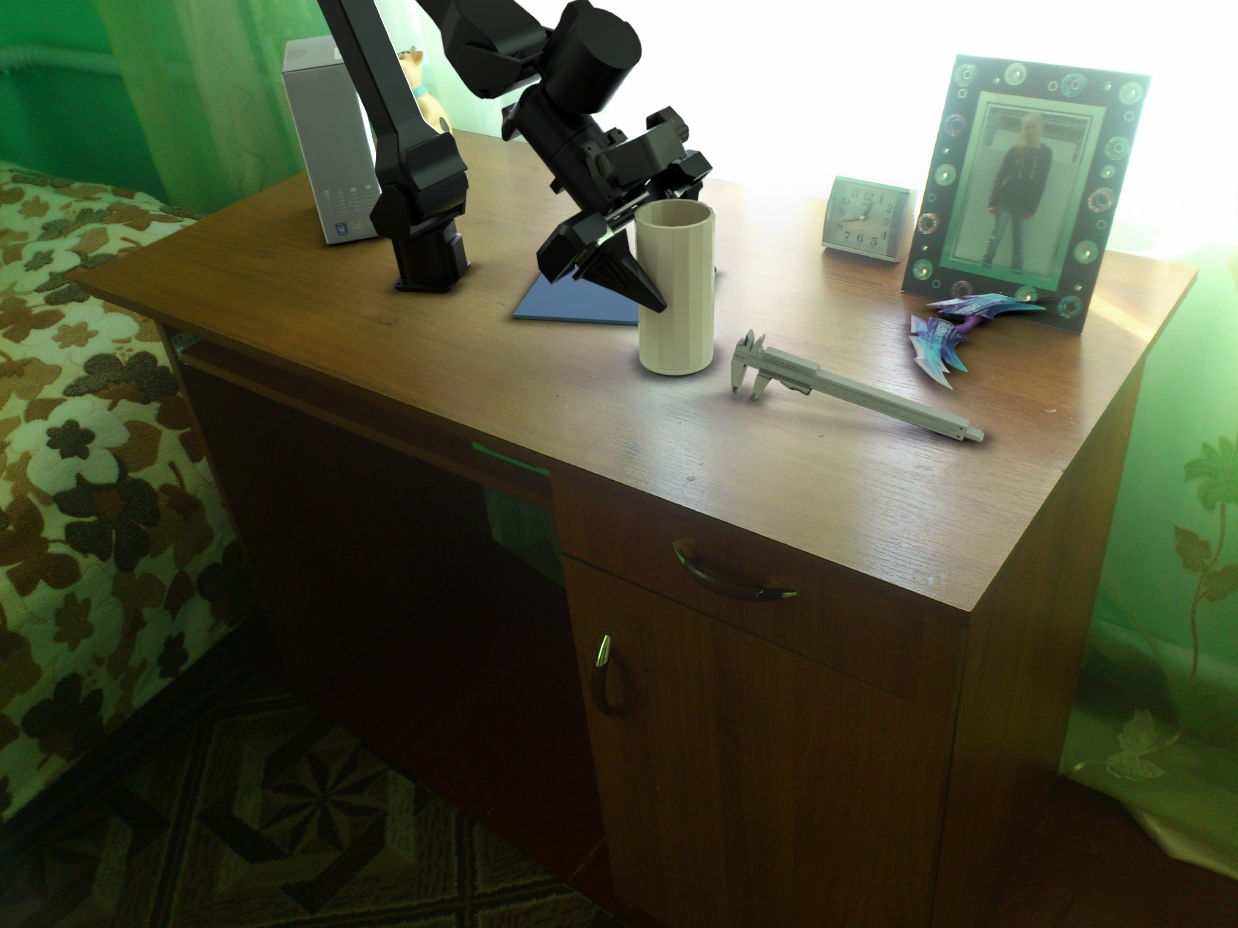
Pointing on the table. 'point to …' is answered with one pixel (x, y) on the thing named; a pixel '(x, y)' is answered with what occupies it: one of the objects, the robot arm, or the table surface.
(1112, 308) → the table surface
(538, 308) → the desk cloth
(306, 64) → the hard drive box
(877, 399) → the caliper
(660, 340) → the pen cup
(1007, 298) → the decorative blades
